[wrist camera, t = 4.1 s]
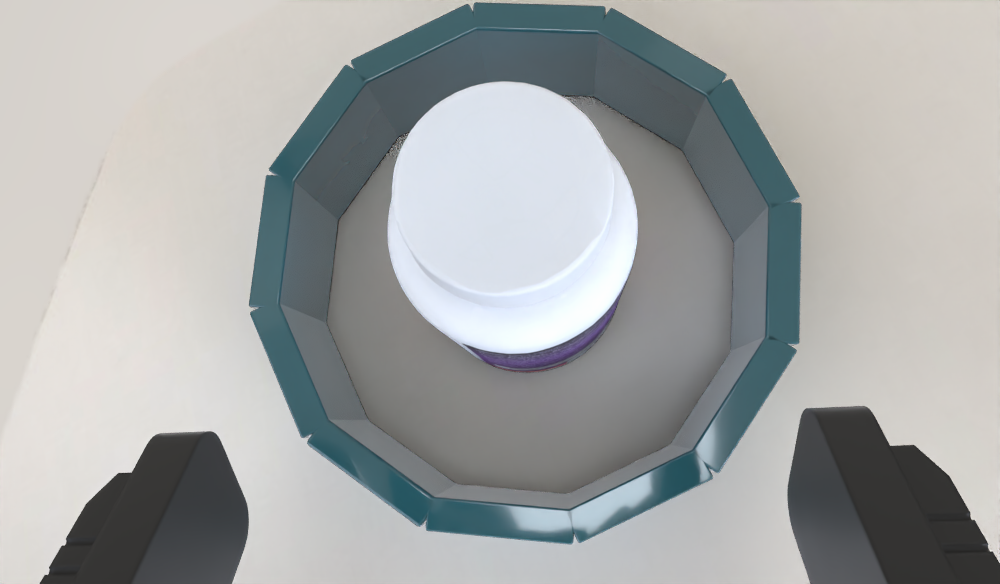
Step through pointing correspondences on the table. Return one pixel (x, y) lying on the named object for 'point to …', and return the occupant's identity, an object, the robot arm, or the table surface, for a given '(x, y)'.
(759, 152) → the faceted teal band
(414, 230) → the pill bottle
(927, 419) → the table surface
